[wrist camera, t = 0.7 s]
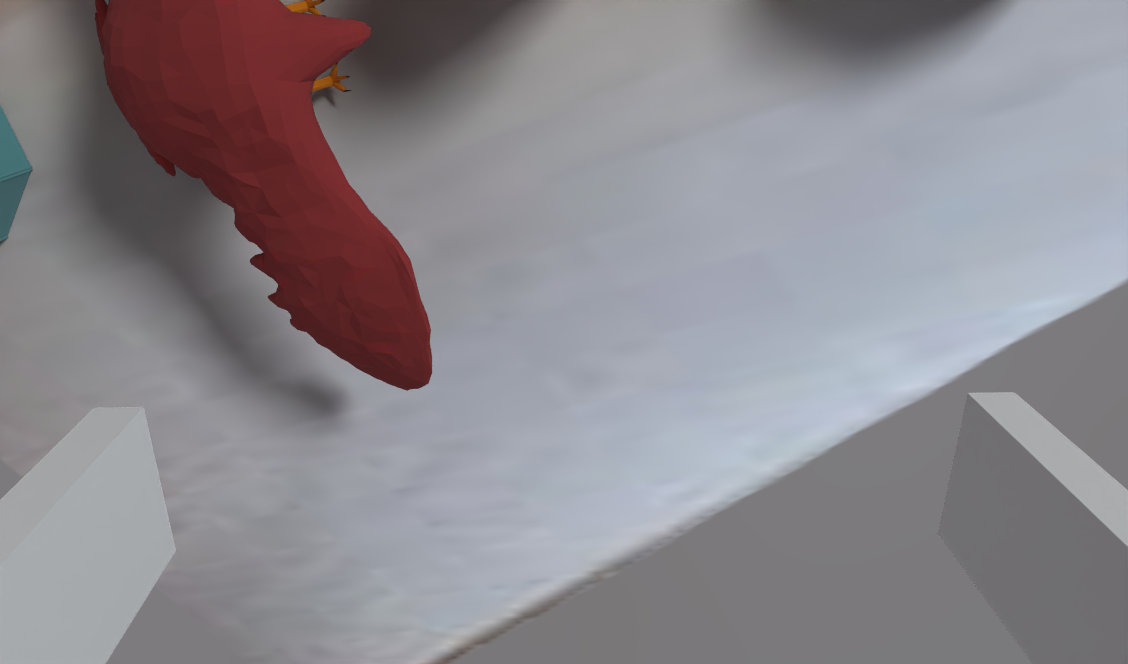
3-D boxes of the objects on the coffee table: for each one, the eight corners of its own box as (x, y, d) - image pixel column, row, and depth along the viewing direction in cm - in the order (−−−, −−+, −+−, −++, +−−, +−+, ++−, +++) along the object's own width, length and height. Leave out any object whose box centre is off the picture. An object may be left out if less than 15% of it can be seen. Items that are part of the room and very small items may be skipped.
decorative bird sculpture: (359, 326, 45) (545, 371, 34) (195, 409, 39) (354, 492, 29) (136, -295, 34) (303, -517, 23) (-131, -299, 29) (-72, -590, 18)
